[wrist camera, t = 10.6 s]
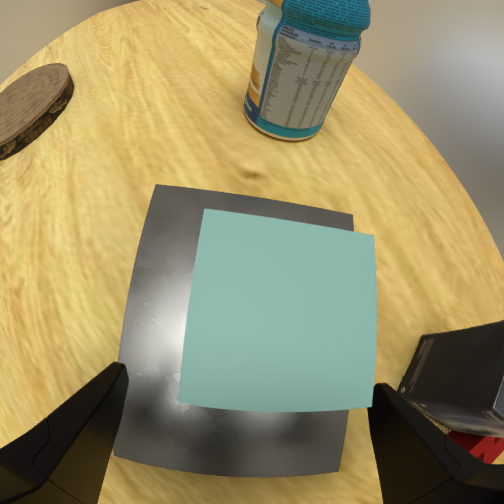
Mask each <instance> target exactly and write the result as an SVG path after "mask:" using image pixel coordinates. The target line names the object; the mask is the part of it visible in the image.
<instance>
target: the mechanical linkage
mask: <svg viewBox="0 0 504 504" xmlns="http://www.w3.org/2000/svg"><path fill="white" fill-rule="evenodd" d="M447 436H448V437H449V438H451V439H452V440H453V441H454V442H456V443H457V444H458V445H459V446H461V447H462V448H464V449H465V450H466V451H468V452H469V453H471V454H472V455H474V456H475V457H477V458H478V459H480V460H481V461H483V462H485V463H488V464H491V463H492V462H493V461H494V460H495V459H496V458H497V457H498V456H499V455H500V454H501V453H502V452H503V451H504V438H499V437H491V436H483V435H476V434H469V433H464V432H458V431H453V430H452V431H451V432H450V433H448V434H447Z"/></svg>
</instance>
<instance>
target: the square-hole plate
mask: <svg viewBox="0 0 504 504" xmlns="http://www.w3.org/2000/svg"><path fill="white" fill-rule="evenodd" d="M204 208H205V209H213V210H220V211H228V212H235V213H242V214H249V215H256V216H263V217H269V218H276V219H282V220H289V221H295V222H301V223H307V224H313V225H319V226H325V227H331V228H336V229H342V230H348V231H353V232H354V226H353V215H351V214H347V213H342V212H337V211H332V210H327V209H322V208H316V207H311V206H306V205H300V204H295V203H289V202H283V201H277V200H271V199H265V198H259V197H252V196H246V195H239V194H232V193H225V192H218V191H210V190H202V189H194V188H186V187H177V186H168V185H159V184H156V185H155V188H154V192H153V195H152V198H151V202H150V205H149V209H148V212H147V216H146V219H145V223H144V227H143V230H142V234H141V238H140V242H139V246H138V251H137V255H136V259H135V264H134V268H133V273H132V278H131V283H130V288H129V293H128V298H127V304H126V310H125V316H124V322H123V328H122V335H121V343H120V351H119V359H118V362H120V363H124V364H125V365H126V368H127V372H128V377H129V385H128V390H127V394H126V399H125V404H124V409H123V414H122V419H121V423H120V426H119V429H118V432H117V436H116V439H115V442H114V456H117V457H121V458H124V459H128V460H132V461H135V462H139V463H144V464H148V465H152V466H157V467H162V468H167V469H173V470H178V471H185V472H192V473H199V474H208V475H219V476H233V477H290V476H304V475H315V474H324V473H331V472H338V471H339V466H340V461H341V456H342V450H343V444H344V438H345V432H346V425H347V418H348V410H349V409H347V410H334V411H315V412H262V411H243V410H230V409H219V408H210V407H202V406H195V405H188V404H181V403H178V393H179V382H180V371H181V362H182V352H183V344H184V335H185V327H186V319H187V312H188V305H189V298H190V291H191V284H192V277H193V271H194V265H195V259H196V253H197V247H198V241H199V235H200V230H201V224H202V219H203V213H204Z"/></svg>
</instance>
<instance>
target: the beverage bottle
mask: <svg viewBox="0 0 504 504" xmlns="http://www.w3.org/2000/svg"><path fill="white" fill-rule="evenodd" d="M266 2H267V4H266V7H265V8H264V9H263V10H262V11H261V12H260V13H259V16H258V19H257V24H256V27H257V31H258V35H257V41H256V46H255V52H254V58H253V63H252V69H251V75H250V81H249V86H248V90H247V94H246V97H245V102H244V111H245V114H246V116H247V118H248V120H249V121H250V122H251V123H252V125H254V126H255V127H256V128H257V129H258V130H260V131H262V132H263V133H265V134H267V135H270V136H272V137H275V138H278V139H283V140H303V139H307V138H310V137H312V136H313V135H315V134H316V133H317V132H318V131H319V130H320V129H321V127H322V125H323V122H324V120H325V116H326V115H327V113H328V110H329V108H330V106H331V104H332V102H333V100H334V98H335V96H336V94H337V92H338V90H339V88H340V86H341V84H342V82H343V79H344V77H345V75H346V73H347V71H348V69H349V67H350V65H351V63H352V61H353V59H354V58H355V57H356V56H357V55H358V53H359V51H360V48H361V36H360V35H361V32H362V31H364V30H365V29H367V28H368V27H369V25H370V22H371V7H370V2H369V0H266Z"/></svg>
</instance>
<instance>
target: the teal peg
mask: <svg viewBox="0 0 504 504" xmlns="http://www.w3.org/2000/svg"><path fill="white" fill-rule="evenodd" d="M376 342H377V283H376V261H375V247H374V235H369V234H364V233H359V232H353V231H348V230H342V229H336V228H331V227H325V226H319V225H313V224H307V223H301V222H295V221H289V220H282V219H276V218H269V217H263V216H256V215H249V214H242V213H235V212H228V211H220V210H213V209H205V208H204V213H203V219H202V224H201V230H200V235H199V241H198V247H197V253H196V259H195V265H194V271H193V277H192V284H191V291H190V298H189V305H188V312H187V319H186V327H185V335H184V344H183V352H182V362H181V371H180V382H179V393H178V403H181V404H188V405H195V406H202V407H210V408H219V409H230V410H243V411H262V412H315V411H334V410H347V409H357V408H366V407H372V398H373V388H374V377H375V363H376Z"/></svg>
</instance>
